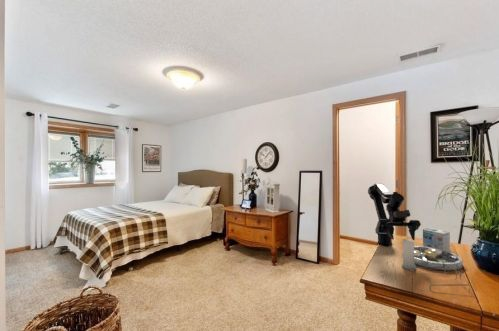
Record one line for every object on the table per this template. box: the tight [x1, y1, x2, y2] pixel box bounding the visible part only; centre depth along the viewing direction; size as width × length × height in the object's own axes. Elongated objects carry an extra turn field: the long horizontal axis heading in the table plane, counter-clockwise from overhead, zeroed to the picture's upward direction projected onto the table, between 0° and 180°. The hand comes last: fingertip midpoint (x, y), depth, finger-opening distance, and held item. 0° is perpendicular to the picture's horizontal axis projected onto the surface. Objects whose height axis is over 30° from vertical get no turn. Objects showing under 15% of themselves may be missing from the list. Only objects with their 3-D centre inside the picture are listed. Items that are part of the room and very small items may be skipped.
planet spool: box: [401, 238, 417, 271], centre depth 112 cm, size 6×6×13 cm
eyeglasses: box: [410, 265, 471, 292], centre depth 99 cm, size 16×15×5 cm
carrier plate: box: [414, 245, 464, 272], centre depth 119 cm, size 24×24×4 cm
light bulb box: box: [422, 227, 451, 252], centre depth 134 cm, size 11×7×11 cm, turn 25°
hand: (403, 239), depth 117 cm, fingers open, 9 cm apart
